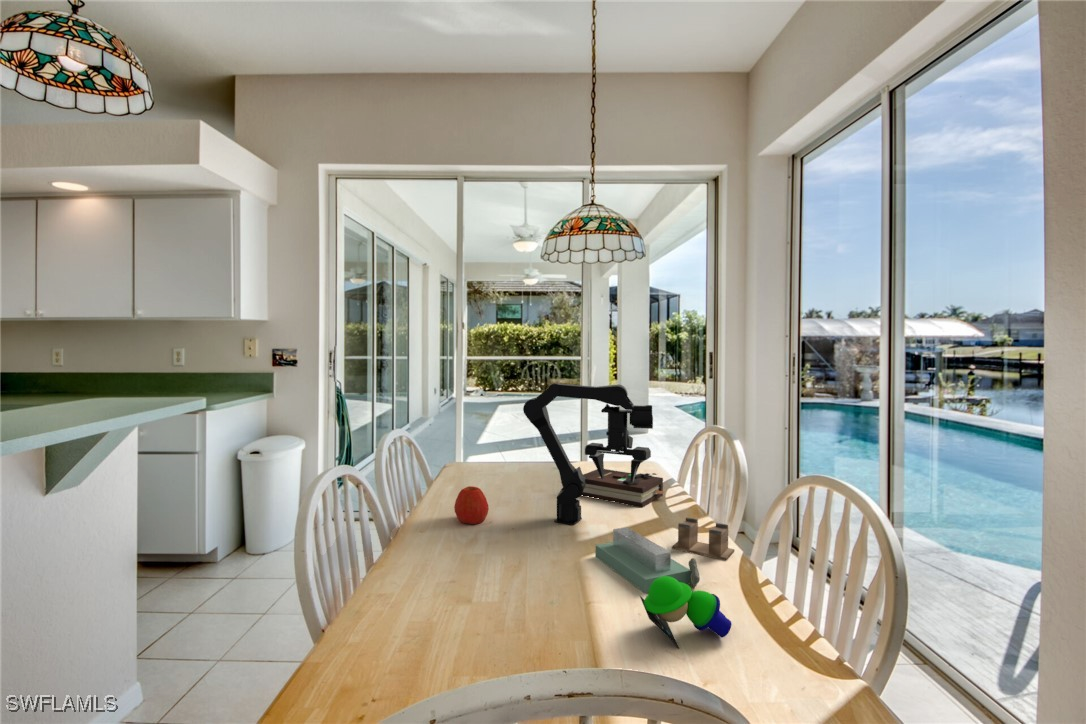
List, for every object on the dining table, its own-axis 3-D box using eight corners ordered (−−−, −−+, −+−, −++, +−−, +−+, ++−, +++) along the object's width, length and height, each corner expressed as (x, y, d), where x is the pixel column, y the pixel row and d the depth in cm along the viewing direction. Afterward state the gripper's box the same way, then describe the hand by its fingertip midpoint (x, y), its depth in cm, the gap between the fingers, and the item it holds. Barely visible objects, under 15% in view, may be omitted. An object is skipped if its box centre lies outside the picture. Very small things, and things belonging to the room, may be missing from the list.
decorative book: (595, 464, 209) (670, 475, 192) (595, 484, 209) (670, 497, 192) (568, 474, 193) (647, 487, 176) (568, 496, 194) (647, 511, 177)
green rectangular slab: (595, 556, 138) (595, 544, 138) (636, 549, 143) (636, 538, 143) (645, 593, 118) (645, 579, 118) (690, 583, 123) (691, 570, 123)
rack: (672, 548, 144) (672, 522, 143) (681, 540, 149) (681, 515, 149) (726, 560, 136) (726, 533, 135) (734, 551, 141) (734, 525, 141)
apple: (451, 517, 169) (451, 483, 168) (484, 514, 172) (484, 481, 171) (457, 528, 159) (456, 492, 159) (492, 524, 162) (491, 489, 162)
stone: (701, 592, 119) (702, 569, 118) (692, 591, 119) (692, 569, 119) (695, 568, 131) (695, 547, 131) (686, 568, 131) (686, 547, 131)
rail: (613, 545, 138) (613, 529, 138) (626, 542, 139) (626, 527, 139) (655, 572, 121) (655, 554, 121) (670, 569, 123) (670, 552, 123)
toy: (686, 641, 107) (632, 588, 106) (726, 602, 106) (672, 548, 106) (701, 671, 97) (642, 613, 96) (745, 628, 97) (686, 569, 96)
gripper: (655, 426, 165) (655, 477, 166) (597, 422, 173) (597, 471, 174) (645, 431, 155) (645, 486, 156) (584, 426, 163) (583, 479, 164)
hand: (617, 480), depth 162 cm, fingers open, 9 cm apart
